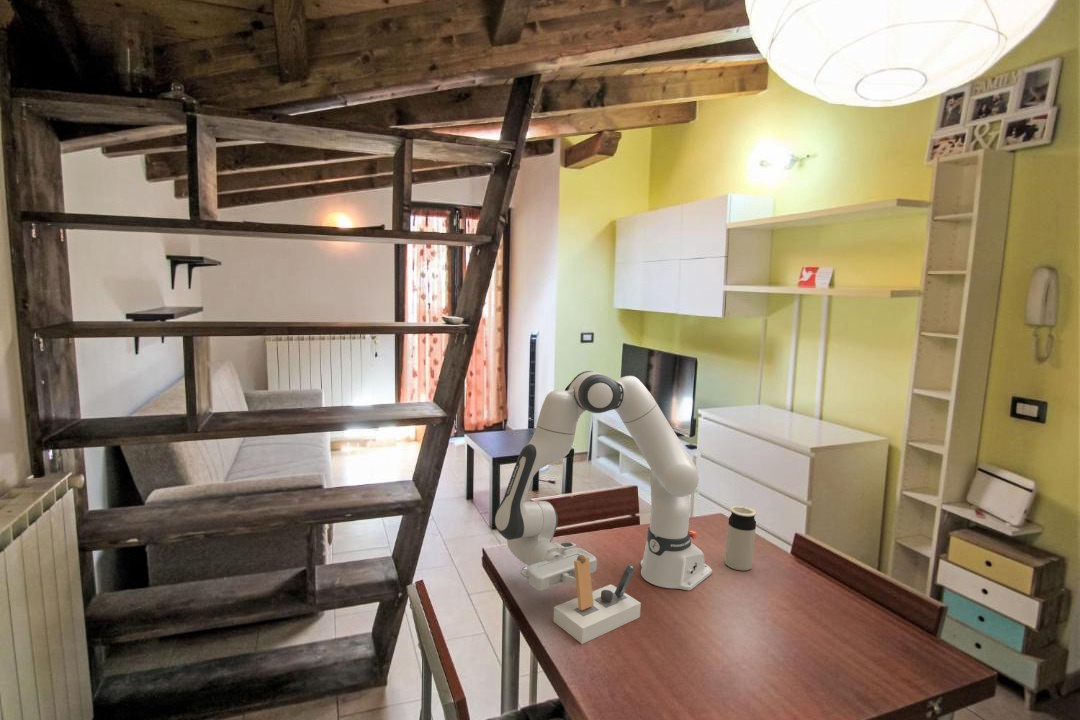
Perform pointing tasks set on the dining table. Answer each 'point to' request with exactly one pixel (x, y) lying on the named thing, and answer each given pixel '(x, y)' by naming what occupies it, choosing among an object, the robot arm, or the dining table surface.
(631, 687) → the dining table surface
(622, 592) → the toggle lever
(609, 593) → the push button
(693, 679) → the dining table surface
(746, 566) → the travel mug
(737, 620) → the dining table surface
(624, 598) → the console
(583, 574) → the paddle lever
